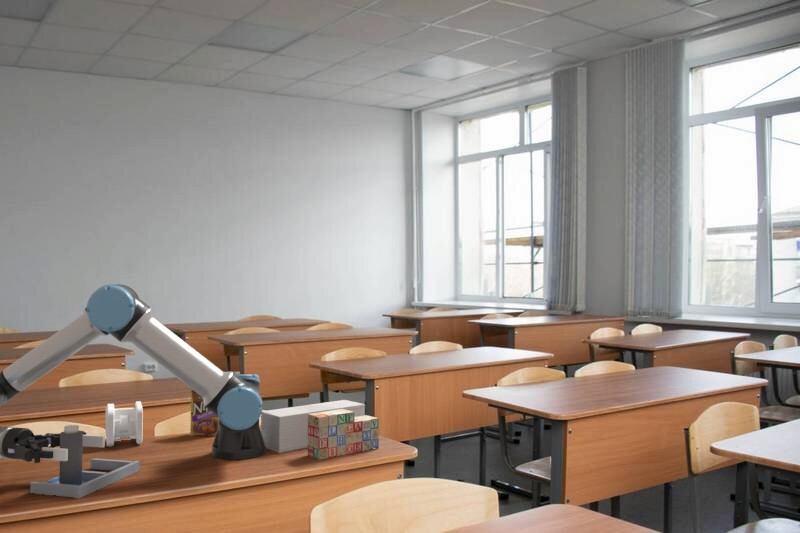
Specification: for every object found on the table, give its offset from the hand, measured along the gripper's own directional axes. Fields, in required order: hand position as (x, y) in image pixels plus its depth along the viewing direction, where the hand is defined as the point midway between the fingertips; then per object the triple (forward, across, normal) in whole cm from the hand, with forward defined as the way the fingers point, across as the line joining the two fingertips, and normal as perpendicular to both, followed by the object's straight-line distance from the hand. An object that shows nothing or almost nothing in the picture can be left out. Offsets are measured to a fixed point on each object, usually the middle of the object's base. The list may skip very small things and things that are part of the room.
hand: (86, 448), depth 172 cm
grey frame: (-4, -6, -10) cm, 12 cm away
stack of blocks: (+49, -51, -10) cm, 71 cm away
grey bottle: (-4, 0, -10) cm, 10 cm away
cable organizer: (-20, -44, -10) cm, 49 cm away
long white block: (+36, -61, -10) cm, 72 cm away
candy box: (-1, -60, -10) cm, 61 cm away
